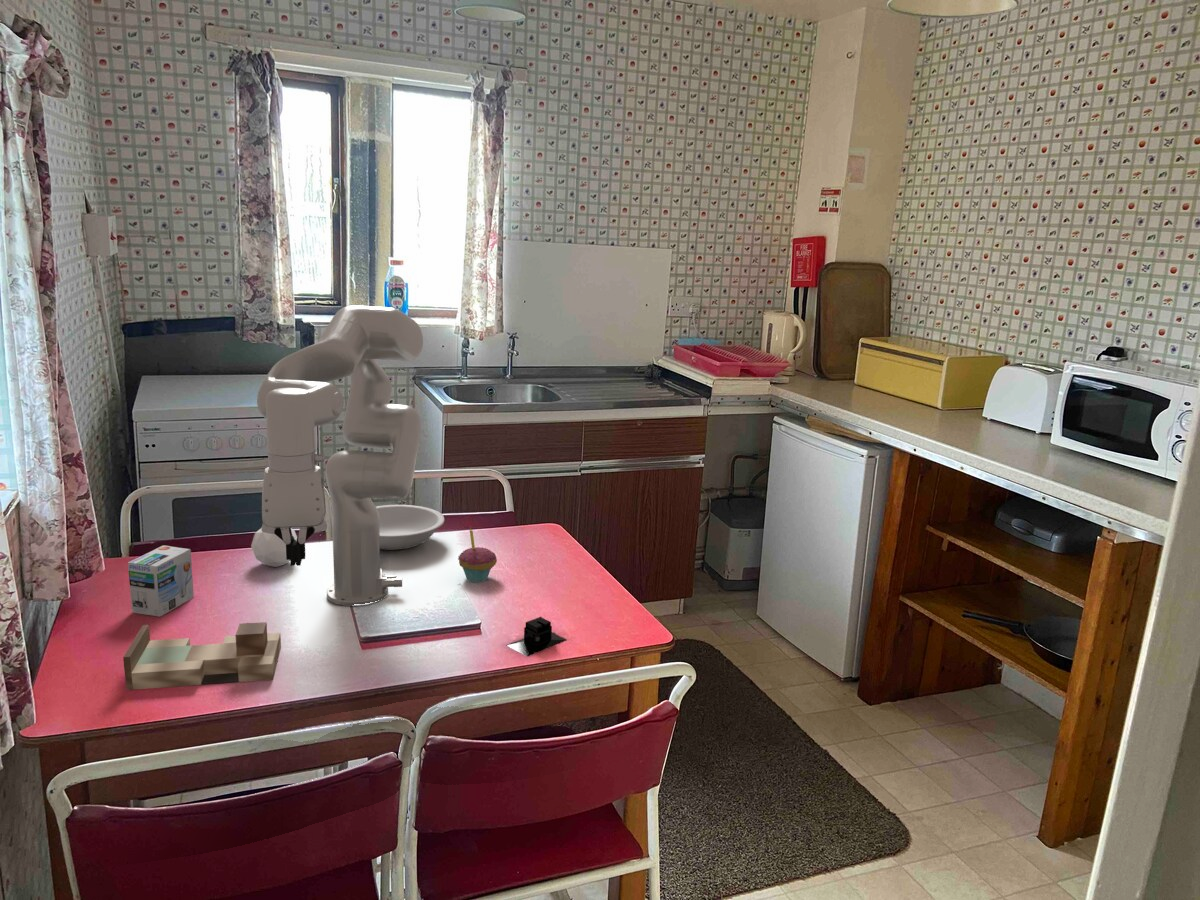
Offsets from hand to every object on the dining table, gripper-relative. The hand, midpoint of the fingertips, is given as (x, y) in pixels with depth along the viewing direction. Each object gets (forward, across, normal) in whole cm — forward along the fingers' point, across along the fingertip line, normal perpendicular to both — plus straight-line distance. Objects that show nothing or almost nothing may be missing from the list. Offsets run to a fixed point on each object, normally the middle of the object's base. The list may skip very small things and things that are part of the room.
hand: (296, 562), depth 152 cm
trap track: (+19, +16, 0) cm, 25 cm away
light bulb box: (+19, +29, -29) cm, 45 cm away
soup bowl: (+19, -17, -59) cm, 64 cm away
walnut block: (+16, +8, 0) cm, 18 cm away
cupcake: (+19, -35, -35) cm, 53 cm away
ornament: (+19, +10, -51) cm, 55 cm away
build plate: (+20, -43, -2) cm, 48 cm away
